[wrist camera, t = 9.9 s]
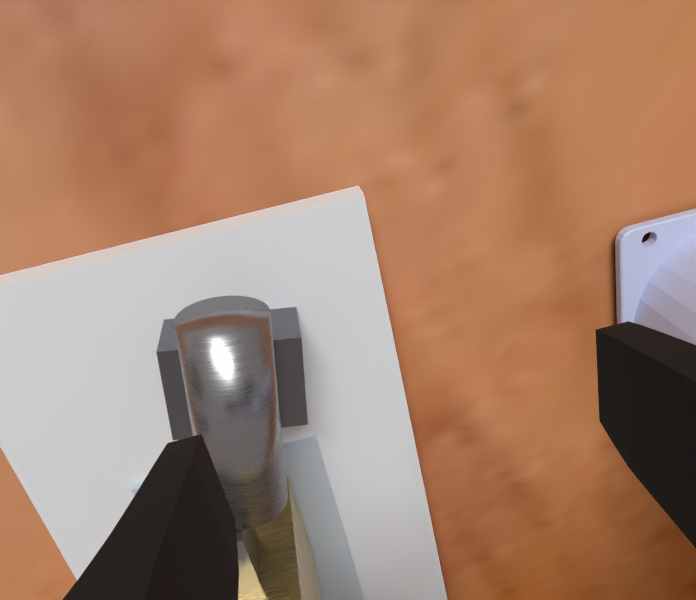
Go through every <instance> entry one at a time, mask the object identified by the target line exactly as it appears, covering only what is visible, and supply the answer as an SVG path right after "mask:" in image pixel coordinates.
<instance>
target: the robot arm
mask: <svg viewBox="0 0 696 600" xmlns="http://www.w3.org/2000/svg"><path fill="white" fill-rule="evenodd" d="M648 232H650V236H649V238H648V239H647V241H645V242H643V243H642V238H643V236H644V235H645V234H646V233H648ZM615 262H616V302H617V324H616V325H612V326H608V327H605V328H601V329H597V330H596V346H597V370H598V394H599V417H600V422H601V424H602V426H603V427H604V429H605V430H606V432H607V434H608V435H609V437H610V439H611V440H612V442H613V444H614V445H615V447H616V448H617V450H618V451H619V453H620V455H621V456H622V458H623V459H624V461H625V462H626V464H627V465H628V467H629V468H630V469H631V471H632V472H633V473H634V474H635V476H636V477H637V478H638V479H639V480H640V482H641V483H642V484H643V485H644V487H645V488H646V489H647V490H648V491H649V493H650V494H651V495H652V496H653V497H654V499H655V500H656V501H657V502H658V503H659V505H660V506H661V507H662V508H663V509H664V511H665V512H666V513H667V514H668V515H669V517H670V518H671V519H672V520H673V521H674V523H675V524H676V525H677V526H678V527H679V528H680V530H681V531H682V532H683V533H684V534H685V536H686V537H687V538H688V539H689V540H690V542H691V543H692V544H693V545H694V546H695V548H696V209H692V210H688V211H684V212H680V213H676V214H673V215H669V216H665V217H661V218H657V219H653V220H649V221H645V222H642V223H638V224H634V225H630V226H627V227H625V228H623V229H622V230H621V231H620V232H619V233H618V235H617V237H616V240H615ZM238 588H239V565H238V549H237V537H236V525H235V518H234V516H233V513H232V510H231V508H230V505H229V503H228V500H227V498H226V495H225V493H224V490H223V488H222V485H221V482H220V480H219V477H218V475H217V472H216V470H215V467H214V465H213V462H212V459H211V457H210V454H209V452H208V449H207V447H206V444H205V442H204V439H203V437H202V434H200V435H196V436H192V437H188V438H185V439H181V440H177V441H173V442H169V443H167V444H166V446H165V448H164V449H163V451H162V452H161V454H160V455H159V457H158V459H157V460H156V462H155V463H154V465H153V467H152V468H151V470H150V472H149V473H148V475H147V476H146V478H145V480H144V481H143V483H142V485H141V486H140V488H139V490H138V491H137V493H136V494H135V496H134V498H133V499H132V501H131V503H130V504H129V506H128V507H127V509H126V510H125V512H124V513H123V515H122V517H121V518H120V520H119V521H118V523H117V524H116V526H115V527H114V529H113V531H112V532H111V534H110V535H109V537H108V538H107V540H106V541H105V542H104V544H103V545H102V547H101V548H100V549H99V551H98V552H97V554H96V555H95V556H94V558H93V559H92V561H91V562H90V563H89V565H88V566H87V568H86V569H85V571H84V572H83V573H82V575H81V576H80V578H79V579H78V580H77V582H76V583H75V584H74V586H73V587H72V588H71V590H70V591H69V592H68V594H67V595H66V596H65V597H64V599H63V600H238Z"/></svg>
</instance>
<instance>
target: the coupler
mask: <svg viewBox="0 0 696 600" xmlns="http://www.w3.org/2000/svg"><path fill="white" fill-rule="evenodd" d="M286 481H287V491H288V499H287V503H286V505H285V507H284V509H283V510H282V512H281V513H280V514H279V515H278V516H277V517H276V518H274V519H273V520H271V521H270V522H268V523H266V524H264V525H262V526H259V527H256V528H252V529H246V530H236V537H237V549H238V565H239V588H238V600H320V593H319V586H318V578H317V571H316V564H315V557H314V552H313V549H312V546H311V543H310V540H309V537H308V534H307V532H306V529H305V526H304V523H303V520H302V517H301V514H300V511H299V508H298V505H297V502H296V499H295V496H294V493H293V490H292V488H291V485H290V482H289V479H288V477H286Z"/></svg>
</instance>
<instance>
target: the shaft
mask: <svg viewBox="0 0 696 600" xmlns="http://www.w3.org/2000/svg"><path fill="white" fill-rule="evenodd" d="M156 353H157V358H158V364H159V369H160V375H161V380H162V385H163V391H164V396H165V401H166V407H167V412H168V417H169V423H170V428H171V434H172V439H173V440H181V439H185V438H188V437H192V436H196V435H200V434H202V437H203V439H204V442H205V444H206V447H207V449H208V452H209V454H210V457H211V459H212V462H213V465H214V467H215V470H216V472H217V475H218V477H219V480H220V482H221V485H222V488H223V490H224V493H225V495H226V498H227V500H228V503H229V505H230V508H231V510H232V513H233V516H234V518H235V525H236V530H246V529H252V528H256V527H259V526H262V525H264V524H266V523H268V522H270V521H271V520H273V519H274V518H276V517H277V516H278V515H279V514H280V513H281V512H282V510H283V509H284V507H285V505H286V503H287V499H288V491H287V481H286V470H285V460H284V450H283V439H282V429H281V428H283V427H291V426H300V425H308V418H307V405H306V392H305V378H304V365H303V351H302V338H301V332H300V326H299V321H298V315H297V309H296V307H289V308H279V309H269V307H268V305H267V304H265V303H264V302H263V301H261V300H258V299H256V298H252V297H247V296H219V297H213V298H208V299H204V300H201V301H198V302H195V303H193V304H191V305H189V306H187V307H185V308H184V309H182V310H181V311H180V312H179V313H178V314H177V315H176V317H175V318H174V319H164V322H163V326H162V330H161V334H160V339H159V343H158V347H157V351H156Z"/></svg>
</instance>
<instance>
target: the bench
mask: <svg viewBox="0 0 696 600" xmlns="http://www.w3.org/2000/svg"><path fill="white" fill-rule="evenodd" d="M219 296H247V297H252V298H256V299H258V300H261V301H263V302H264V303H265V304H267V305H268V307H269V309H279V308H289V307H296V309H297V315H298V321H299V326H300V332H301V338H302V351H303V365H304V378H305V392H306V405H307V418H308V425H300V426H291V427H283V428H281V429H282V439H283V450H284V460H285V470H286V477H288V479H289V482H290V485H291V488H292V490H293V493H294V496H295V499H296V502H297V505H298V508H299V511H300V514H301V517H302V520H303V523H304V526H305V529H306V532H307V534H308V537H309V540H310V543H311V546H312V549H313V552H314V557H315V564H316V571H317V578H318V586H319V593H320V600H447V595H446V590H445V585H444V580H443V576H442V571H441V566H440V561H439V556H438V551H437V547H436V542H435V537H434V532H433V527H432V522H431V517H430V513H429V508H428V503H427V498H426V493H425V488H424V484H423V479H422V474H421V469H420V464H419V459H418V454H417V450H416V445H415V440H414V435H413V430H412V425H411V421H410V416H409V411H408V406H407V401H406V396H405V391H404V387H403V382H402V377H401V372H400V367H399V362H398V358H397V353H396V348H395V343H394V338H393V333H392V328H391V324H390V319H389V314H388V309H387V304H386V299H385V295H384V290H383V285H382V280H381V275H380V270H379V265H378V261H377V256H376V251H375V246H374V241H373V236H372V231H371V227H370V222H369V217H368V212H367V207H366V202H365V198H364V194H363V192H362V191H361V189H360V187H359V186H354V187H350V188H346V189H342V190H338V191H334V192H330V193H326V194H322V195H318V196H314V197H310V198H306V199H302V200H298V201H294V202H290V203H286V204H282V205H278V206H274V207H270V208H266V209H262V210H258V211H254V212H250V213H246V214H242V215H238V216H234V217H230V218H226V219H222V220H218V221H214V222H210V223H206V224H202V225H198V226H194V227H190V228H186V229H182V230H178V231H174V232H170V233H166V234H163V235H159V236H155V237H151V238H147V239H143V240H139V241H135V242H131V243H127V244H123V245H119V246H115V247H111V248H107V249H103V250H99V251H95V252H91V253H87V254H83V255H79V256H75V257H71V258H67V259H63V260H59V261H55V262H51V263H47V264H43V265H39V266H35V267H31V268H27V269H23V270H19V271H15V272H11V273H7V274H3V275H0V447H1V449H2V451H3V452H4V454H5V456H6V458H7V459H8V461H9V463H10V465H11V466H12V468H13V470H14V472H15V473H16V475H17V477H18V479H19V480H20V482H21V484H22V486H23V487H24V489H25V491H26V492H27V494H28V496H29V498H30V499H31V501H32V503H33V505H34V506H35V508H36V510H37V512H38V513H39V515H40V517H41V519H42V520H43V522H44V524H45V525H46V527H47V529H48V531H49V532H50V534H51V536H52V538H53V539H54V541H55V543H56V545H57V546H58V548H59V550H60V552H61V553H62V555H63V557H64V559H65V560H66V562H67V564H68V565H69V567H70V569H71V571H72V572H73V574H74V576H75V578H76V579H77V580H78V579H79V578H80V576H81V575H82V573H83V572H84V571H85V569H86V568H87V566H88V565H89V563H90V562H91V561H92V559H93V558H94V556H95V555H96V554H97V552H98V551H99V549H100V548H101V547H102V545H103V544H104V542H105V541H106V540H107V538H108V537H109V535H110V534H111V532H112V531H113V529H114V527H115V526H116V524H117V523H118V521H119V520H120V518H121V517H122V515H123V513H124V512H125V510H126V509H127V507H128V506H129V504H130V503H131V501H132V499H133V498H134V496H135V494H136V493H137V491H138V490H139V488H140V486H141V485H142V483H143V481H144V480H145V478H146V476H147V475H148V473H149V472H150V470H151V468H152V467H153V465H154V463H155V462H156V460H157V459H158V457H159V455H160V454H161V452H162V451H163V449H164V448H165V446H166V444H167V443H169V442H173V441H177V440H173V439H172V434H171V428H170V423H169V417H168V412H167V407H166V401H165V396H164V391H163V385H162V380H161V375H160V369H159V364H158V358H157V353H156V351H157V347H158V343H159V339H160V334H161V330H162V326H163V322H164V319H174V318H175V317H176V315H177V314H178V313H179V312H180V311H181V310H182V309H184V308H185V307H187V306H189V305H191V304H193V303H195V302H198V301H201V300H204V299H208V298H213V297H219Z"/></svg>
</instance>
